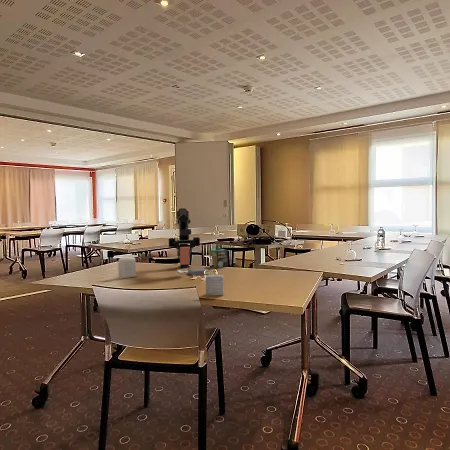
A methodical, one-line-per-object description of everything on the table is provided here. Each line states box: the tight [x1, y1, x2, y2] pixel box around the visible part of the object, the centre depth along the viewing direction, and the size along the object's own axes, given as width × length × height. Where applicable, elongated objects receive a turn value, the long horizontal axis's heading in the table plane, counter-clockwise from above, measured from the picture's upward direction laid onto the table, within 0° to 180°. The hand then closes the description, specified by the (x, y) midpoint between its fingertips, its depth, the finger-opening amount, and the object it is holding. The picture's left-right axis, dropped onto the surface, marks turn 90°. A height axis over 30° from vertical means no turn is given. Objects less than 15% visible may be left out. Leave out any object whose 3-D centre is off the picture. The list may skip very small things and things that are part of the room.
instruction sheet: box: [176, 269, 188, 274], centre depth 244 cm, size 10×14×1 cm
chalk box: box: [208, 244, 229, 269], centre depth 258 cm, size 9×9×15 cm
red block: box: [179, 246, 191, 266], centre depth 228 cm, size 4×6×10 cm
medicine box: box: [205, 274, 225, 297], centre depth 176 cm, size 8×4×9 cm, turn 86°
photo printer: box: [117, 256, 137, 280], centre depth 226 cm, size 10×4×12 cm, turn 123°
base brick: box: [187, 267, 206, 277], centre depth 233 cm, size 10×10×2 cm
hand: (184, 253), depth 227 cm, fingers closed on red block, 5 cm apart
